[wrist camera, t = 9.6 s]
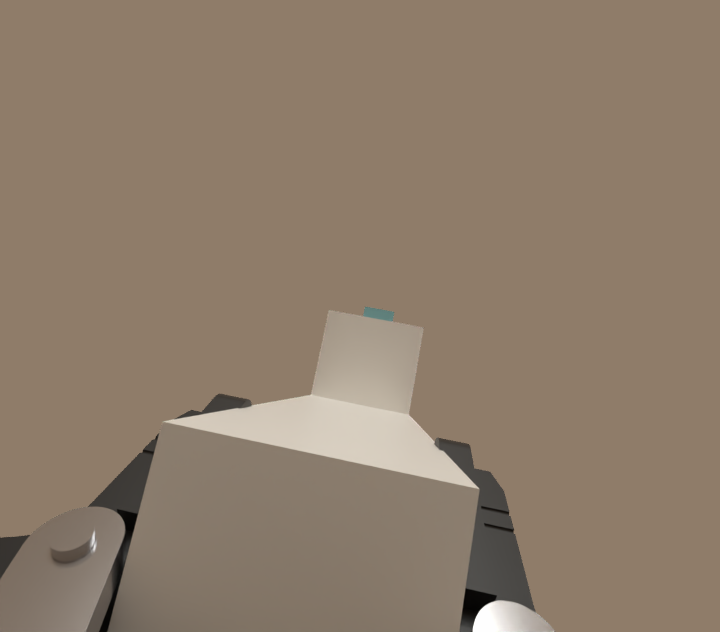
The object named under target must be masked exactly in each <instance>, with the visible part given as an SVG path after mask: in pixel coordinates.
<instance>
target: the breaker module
mask: <svg viewBox="0 0 720 632" xmlns="http://www.w3.org/2000/svg"><path fill="white" fill-rule="evenodd" d="M393 316H394V312H391V311H386V310H381V309H375V308H370V307H365V310H364V315H363V316H359V315H353V314H348V313H342V312H337V311H332V310H329V312H328V316H327V321H326V326H325V331H324V335H323V340H322V345H321V350H320V355H319V359H318V364H317V369H316V374H315V378H314V383H313V388H312V393H311V395H308V396H302V397H297V398H291V399H286V400H280V401H275V402H269V403H263V404H258V405H252V406H251V407H246V408H241V409H239V408H235V409H230V410H224V411H218V412H213V413H207V414H202V415H196V416H191V417H185V418H179V419H174V420H168V421H163V422H162V425H161V429H160V432H159V436H158V440H157V444H156V448H155V452H154V455H153V459H152V463H151V467H150V471H149V474H148V478H147V482H146V486H145V490H144V494H143V497H142V501H141V505H140V509H139V513H138V517H137V520H136V524H135V528H134V532H133V536H132V539H131V543H130V547H129V551H128V555H127V559H126V562H125V566H124V570H123V574H122V578H121V582H120V585H119V589H118V593H117V597H116V601H115V604H114V608H113V612H112V616H111V620H110V624H109V627H108V631H107V632H459V630H460V623H461V616H462V609H463V602H464V595H465V588H466V581H467V574H468V567H469V560H470V553H471V546H472V539H473V532H474V525H475V518H476V511H477V504H478V497H479V490H480V489H479V488H478V487H477V486H476V485H475V484H474V483H473V482H472V481H471V480H470V478H469V477H468V476H467V475H466V474H465V473H464V472H463V471H462V470H461V469H460V468H459V467H458V466H457V465H456V464H455V463H454V462H453V461H452V460H451V459H450V457H449V456H448V455H447V454H446V453H445V452H444V451H442V450H439V449H438V448H437V447H436V446H435V444H434V443H435V442H434V441H433V440H432V439H431V438H430V437H429V435H428V434H427V433H426V432H425V431H424V430H423V429H422V428H421V427H420V426H419V425H418V424H417V423H416V422H415V421H414V420H413V419H412V418H411V417H410V415H409V410H410V404H411V399H412V393H413V386H414V381H415V375H416V369H417V364H418V358H419V352H420V346H421V340H422V334H423V329H424V328H423V327H417V326H412V325H407V324H402V323H396V322H392V321H393Z"/></svg>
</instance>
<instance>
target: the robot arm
mask: <svg viewBox="0 0 720 632" xmlns="http://www.w3.org/2000/svg"><path fill="white" fill-rule="evenodd" d="M246 407H251V401H250V400H248V399H243V398H238V397H233V396H228V395H224V394H218V395H216V397H214V399H213V400H212V401H211V402H210V403H209V404H208V405H207V407H206V408H205V409H204V410H203V411H202V412H198V411H194V410H191V411H189V412H187V413H185V414H183V415H181V416H180V417H178V418H176V419H179V418H185V417H191V416H196V415H202V414H207V413H213V412H218V411H224V410H230V409H235V408H239V409H241V408H246ZM158 436H159V434H158V435H157V436H156V438H155V440H152V441H151V442H150V443H149V444H148V445H147V446H146V447H145V448H144V450H143V452H142V453H139V454H138V455H137V457H136V458H135V459H134V460H133V461H132V462H131V463H130V464H129V465H128V466H127V467H126V468H125V469H124V470H123V471H122V472H121V473H120V474H119V475H118V476H117V478H115V479H114V480H113V481H112V483H111V484H110V485H109V486H108V487H107V488H106V489H105V490H104V491H103V492H102V493H101V494H100V495H99V496H98V497H97V498H96V499H95V500H94V501H93V502H92V503H91V504H90V505H89V506H88V507H83V508H79V509H74V510H71V511H68V512H65V513H63V514H61V515H58V516H56V517H54V518H52V519H51V520H49V521H47V522H46V523H44V524H43V525H41V526H40V527H39V528H38V529H36V530H35V531H34V532H33V533H32V534H31V535H27V536H19V537H4V538H0V632H107V631H108V627H109V624H110V620H111V616H112V612H113V608H114V604H115V601H116V597H117V593H118V589H119V585H120V582H121V578H122V574H123V570H124V566H125V562H126V559H127V555H128V551H129V547H130V543H131V539H132V536H133V532H134V528H135V524H136V520H137V517H138V513H139V509H140V505H141V501H142V497H143V494H144V490H145V486H146V482H147V478H148V474H149V471H150V467H151V463H152V459H153V455H154V452H155V448H156V444H157V440H158ZM434 444H435V446H436V447H437V448H438V449H439V450H442V451H444V452H445V453H446V454H447V455H448V456H449V457H450V459H451V460H452V461H453V462H454V463H455V464H456V465H457V466H458V467H459V468H460V469H461V470H462V471H463V472H464V473H465V474H466V475H467V476H468V477H469V478H470V480H471V481H472V482H473V483H474V484H475V485H476V486H477V487H478V488H479V489H480V490H479V497H478V504H477V511H476V518H475V525H474V532H473V539H472V546H471V553H470V560H469V567H468V574H467V581H466V588H465V595H464V602H463V609H462V616H461V623H460V630H459V632H555V631H554V629H553V628H552V627H551V626H550V625H549V624H548V623H547V622H546V621H545V620H544V619H543V618H542V617H540V616H539V615H538V614H537V613H536V612H535V609H534V605H533V602H532V598H531V594H530V590H529V586H528V582H527V579H526V575H525V571H524V567H523V563H522V559H521V555H520V552H519V548H518V544H517V540H516V536H515V534H514V533H513V531H514V528H513V524H512V521H511V517H510V516H509V509H508V506H507V501H506V497H505V494H504V491H503V489H502V488H501V487H500V485H499V484H498V483H497V481H496V479H495V478H494V477H493V475H492V474H491V473H490V472H488V471H483V470H479V469H474V465H473V459H472V454H471V449H470V445H469V444H466V443H461V442H456V441H451V440H446V439H441V438H436V440H435V443H434Z"/></svg>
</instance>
